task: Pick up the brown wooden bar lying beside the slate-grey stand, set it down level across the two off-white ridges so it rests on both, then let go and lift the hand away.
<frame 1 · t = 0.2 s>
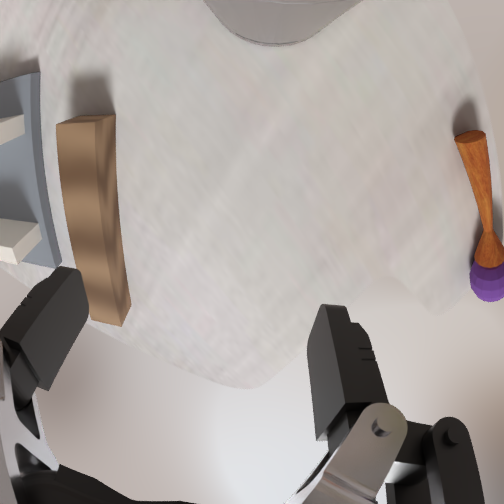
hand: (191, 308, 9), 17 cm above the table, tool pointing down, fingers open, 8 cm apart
ridge stand: (0, 175, 24), on the table
kendama: (475, 215, 26), on the table
brown wooden bar: (104, 221, 28), on the table
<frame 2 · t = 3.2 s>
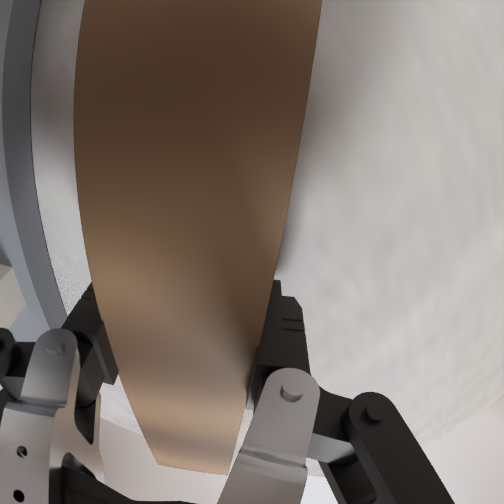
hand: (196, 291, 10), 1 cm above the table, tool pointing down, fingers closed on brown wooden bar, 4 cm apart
brown wooden bar: (201, 275, 11), on the table, touching gripper
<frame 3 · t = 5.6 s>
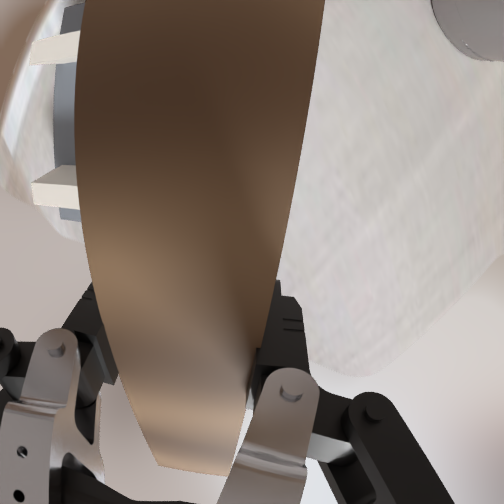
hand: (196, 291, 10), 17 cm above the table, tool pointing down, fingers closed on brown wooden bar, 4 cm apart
ridge stand: (131, 111, 23), on the table
brown wooden bar: (202, 278, 11), point 17 cm above the table, touching gripper
when the fingers open (8 cm above the table, at t = 7.9 s): brown wooden bar stays where it is, resting on ridge stand.
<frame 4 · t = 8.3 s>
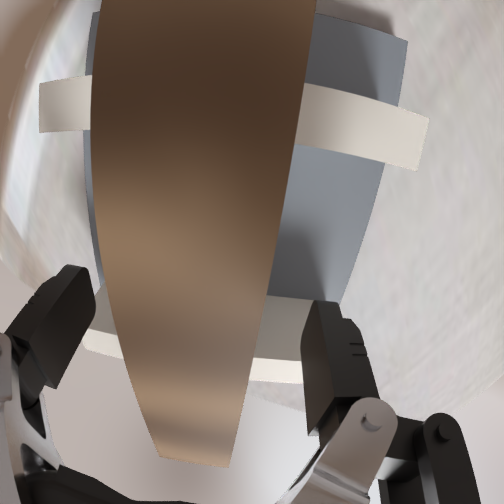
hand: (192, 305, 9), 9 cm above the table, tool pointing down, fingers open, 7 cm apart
ridge stand: (223, 203, 17), on the table
brown wooden bar: (204, 268, 11), point 6 cm above the table, touching ridge stand
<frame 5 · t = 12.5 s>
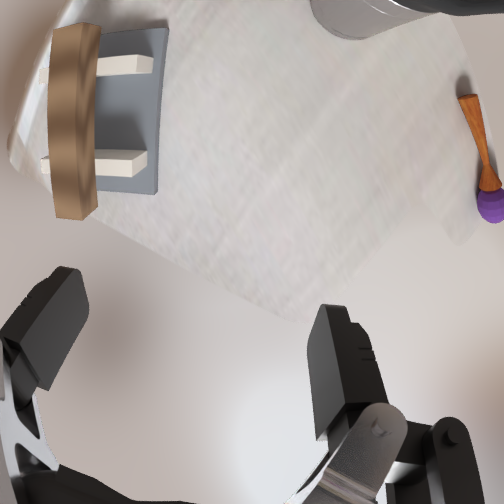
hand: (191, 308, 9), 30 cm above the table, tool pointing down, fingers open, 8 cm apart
ridge stand: (105, 111, 33), on the table
kendama: (476, 157, 34), on the table
brown wooden bar: (80, 118, 27), point 6 cm above the table, touching ridge stand
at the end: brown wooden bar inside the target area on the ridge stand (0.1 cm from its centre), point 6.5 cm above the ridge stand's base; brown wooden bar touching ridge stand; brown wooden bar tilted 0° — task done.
